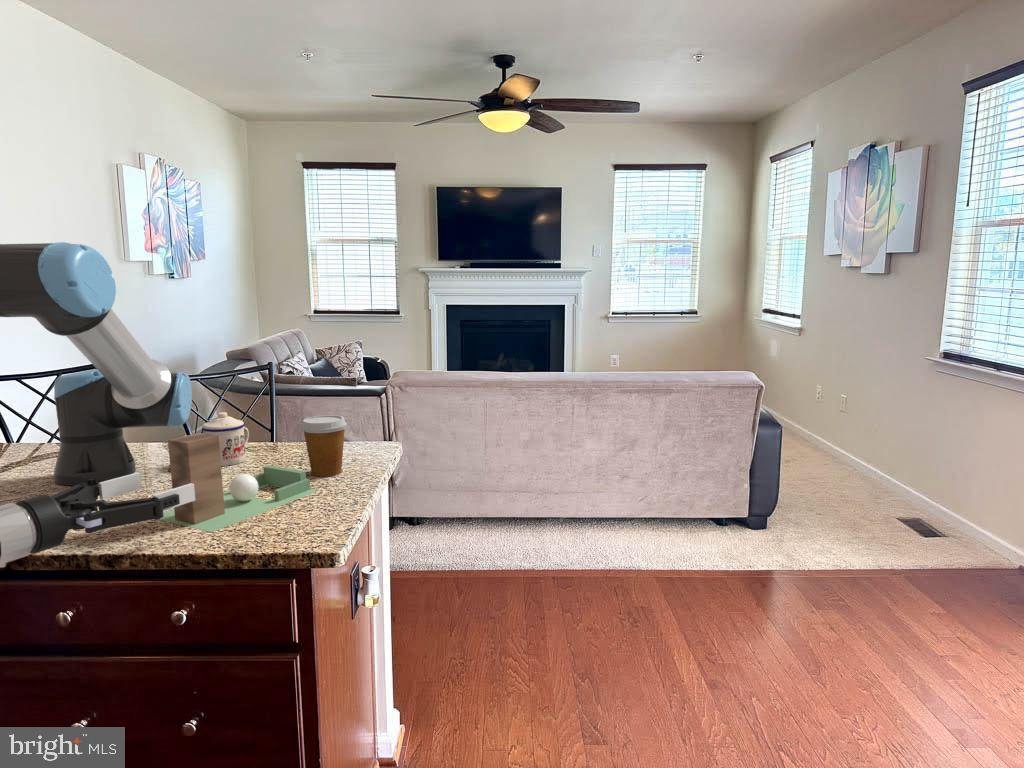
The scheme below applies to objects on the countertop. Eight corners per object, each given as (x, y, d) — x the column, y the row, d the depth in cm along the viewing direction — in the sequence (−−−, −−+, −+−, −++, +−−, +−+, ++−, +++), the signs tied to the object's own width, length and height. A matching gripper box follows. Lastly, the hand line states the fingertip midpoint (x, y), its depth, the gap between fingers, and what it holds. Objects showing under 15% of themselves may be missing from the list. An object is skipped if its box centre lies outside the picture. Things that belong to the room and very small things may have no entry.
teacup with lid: (226, 468, 152) (222, 417, 151) (195, 465, 156) (191, 415, 154) (264, 455, 163) (260, 408, 162) (234, 452, 167) (230, 406, 165)
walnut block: (175, 520, 116) (167, 440, 113) (205, 509, 121) (199, 432, 119) (194, 524, 113) (187, 443, 111) (224, 513, 119) (218, 435, 116)
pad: (150, 525, 118) (147, 497, 117) (259, 487, 138) (258, 463, 138) (212, 540, 110) (210, 511, 109) (318, 498, 131) (317, 473, 130)
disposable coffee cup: (337, 480, 143) (334, 424, 141) (295, 478, 145) (292, 423, 143) (356, 467, 152) (353, 415, 150) (317, 465, 154) (314, 414, 152)
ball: (224, 502, 124) (222, 476, 124) (246, 495, 129) (244, 469, 128) (243, 506, 122) (241, 479, 121) (265, 498, 126) (263, 472, 126)
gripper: (-22, 539, 98) (121, 497, 117) (78, 572, 87) (219, 520, 105) (-29, 489, 97) (116, 455, 116) (72, 516, 86) (215, 473, 104)
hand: (165, 485), depth 110 cm, fingers open, 13 cm apart
